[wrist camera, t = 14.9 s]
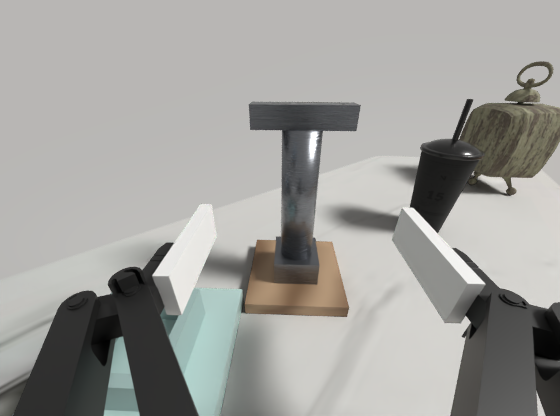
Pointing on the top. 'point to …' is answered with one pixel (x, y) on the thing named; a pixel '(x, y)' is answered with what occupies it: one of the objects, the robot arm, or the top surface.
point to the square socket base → (188, 352)
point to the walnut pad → (295, 286)
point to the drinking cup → (443, 174)
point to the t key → (300, 177)
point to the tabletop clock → (514, 133)
